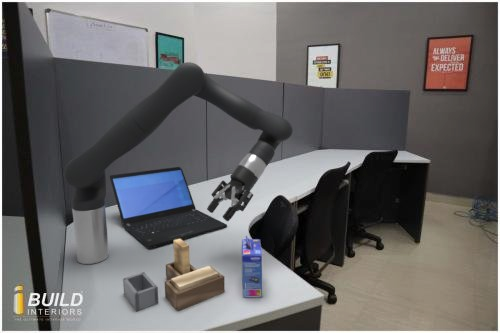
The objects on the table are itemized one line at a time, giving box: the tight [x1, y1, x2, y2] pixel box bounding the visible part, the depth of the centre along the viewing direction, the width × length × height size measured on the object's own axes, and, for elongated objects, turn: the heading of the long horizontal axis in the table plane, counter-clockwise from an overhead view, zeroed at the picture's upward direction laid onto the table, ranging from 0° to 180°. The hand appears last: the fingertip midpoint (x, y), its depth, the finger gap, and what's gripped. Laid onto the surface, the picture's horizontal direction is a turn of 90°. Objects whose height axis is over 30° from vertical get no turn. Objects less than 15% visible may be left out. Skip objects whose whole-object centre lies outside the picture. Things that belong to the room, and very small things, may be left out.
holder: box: [122, 271, 159, 312], centre depth 86 cm, size 9×6×4 cm, turn 38°
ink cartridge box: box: [241, 235, 264, 298], centre depth 91 cm, size 10×6×14 cm, turn 2°
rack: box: [164, 261, 226, 312], centre depth 91 cm, size 16×14×4 cm
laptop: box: [109, 166, 228, 249], centre depth 136 cm, size 33×38×19 cm
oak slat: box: [172, 239, 191, 275], centre depth 93 cm, size 6×2×12 cm, turn 38°
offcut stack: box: [171, 265, 219, 292], centre depth 88 cm, size 5×12×5 cm, turn 128°
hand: (217, 215), depth 98 cm, fingers open, 8 cm apart
